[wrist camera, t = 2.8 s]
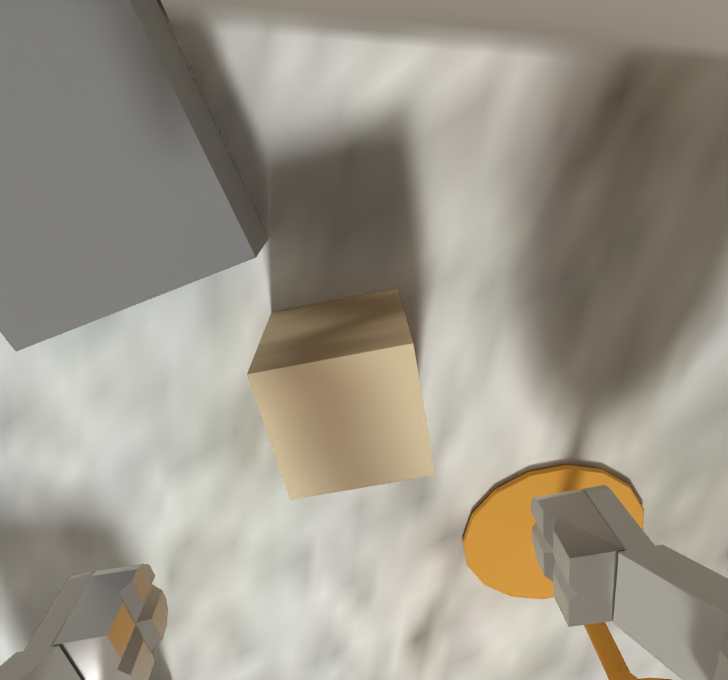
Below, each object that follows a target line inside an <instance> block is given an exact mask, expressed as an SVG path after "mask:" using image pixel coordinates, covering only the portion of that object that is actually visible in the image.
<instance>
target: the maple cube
mask: <svg viewBox="0 0 728 680" xmlns="http://www.w3.org/2000/svg"><path fill="white" fill-rule="evenodd" d="M247 376H248V378H249V381H250V384H251V387H252V390H253V393H254V396H255V399H256V402H257V405H258V407H259V410H260V413H261V416H262V419H263V422H264V425H265V428H266V431H267V434H268V436H269V439H270V442H271V445H272V448H273V451H274V454H275V457H276V460H277V463H278V465H279V468H280V471H281V474H282V477H283V480H284V483H285V486H286V489H287V492H288V494H289V497H290V500H292V499H298V498H304V497H310V496H316V495H322V494H327V493H333V492H339V491H345V490H351V489H357V488H363V487H368V486H374V485H380V484H386V483H392V482H398V481H404V480H409V479H415V478H421V477H427V476H433V475H435V469H434V463H433V457H432V451H431V445H430V439H429V433H428V427H427V421H426V415H425V409H424V403H423V397H422V391H421V385H420V379H419V373H418V368H417V362H416V356H415V350H414V344H413V340H412V336H411V333H410V329H409V326H408V322H407V319H406V315H405V312H404V308H403V304H402V301H401V297H400V294H399V290H398V288H395V289H390V290H385V291H380V292H375V293H369V294H364V295H359V296H354V297H349V298H344V299H338V300H333V301H328V302H323V303H318V304H313V305H307V306H302V307H297V308H292V309H287V310H282V311H277V312H272V313H271V315H270V318H269V320H268V323H267V325H266V328H265V330H264V333H263V335H262V338H261V340H260V343H259V345H258V348H257V351H256V353H255V356H254V358H253V361H252V363H251V366H250V368H249V371H248V373H247Z"/></svg>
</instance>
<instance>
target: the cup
mask: <svg viewBox="0 0 728 680" xmlns="http://www.w3.org/2000/svg"><path fill="white" fill-rule="evenodd" d="M601 485H606V486H607V487H609V488H610V489H611V490H612V492H613V493H614V494H615V495H616V497H617V498H618V499H619V501H620V502H621V503H622V504H623V506H624V507H625V508H626V509H627V511H628V512H629V513H630V514H631V516H632V517H633V518H634V520H635V521H636V522H637V523H638V525H639V526H640V527H641V528H642V530H643V513H644V508H643V507H642V505H641V503H640V502H639V500H638V498H637V497H636V495H635V493H634V492H633V490H632V488H631V487H630V485H629V484H628V483H626V482H624V481H622V480H620V479H619V478H617V477H615V476H613V475H612V474H610V473H608V472H606V471H604V470H603V469H598V468H590V467H582V466H573V465H561V466H556V467H551V468H546V469H540V470H535V471H530V472H527V473H525V474H523V475H521V476H519V477H517V478H515V479H513V480H511V481H510V482H508V483H506V484H504V485H502V486H500V487H498V488H496V489H494V490H493V492H492V493H491V494H490V495H489V496H488V497H487V498H486V499H485V500H484V501H483V502H482V503H481V504H480V505H479V506H478V507H477V508H476V509H475V511H474V512H473V513H472V514H471V517H470V520H469V523H468V525H467V528H466V531H465V534H464V537H463V545H464V550H465V556H466V561H467V565H468V567H469V568H470V569H471V570H472V571H473V572H474V574H475V575H476V576H477V577H478V578H479V579H480V580H481V581H482V583H483V584H484V585H486V586H489V587H491V588H493V589H495V590H498V591H500V592H502V593H505V594H507V595H509V596H513V597H524V598H535V599H546V598H552V597H554V595H553V581H551V580H550V579H548V578H547V577H545V576H544V574H543V572H542V570H541V568H540V566H539V563H538V560H537V557H536V555H535V551H534V546H533V541H532V527H533V526H534V524H535V523H536V521H535V519H534V517H533V515H532V513H531V501H532V498H534V497H540V496H545V495H551V494H556V493H562V492H568V491H573V490H580V489H584V488H590V487H595V486H601ZM584 626H585V628H586V630H587V633H588V635H589V637H590V639H591V641H592V644H593V646H594V648H595V650H596V652H597V654H598V657H599V659H600V661H601V663H602V665H603V667H604V670H605V672H606V674H607V676H608V678H609V680H671V679H659V678H643V679H638V678H636V677H635V676H634V675H632V674H631V673H630V671H629V669H628V667H627V665H626V663H625V661H624V659H623V657H622V655H621V653H620V651H619V649H618V647H617V645H616V643H615V641H614V639H613V637H612V635H611V633H610V631H609V629H608V627H607V625H606V624H605V622H600V623H592V624H585V625H584Z"/></svg>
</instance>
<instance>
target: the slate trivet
mask: <svg viewBox="0 0 728 680" xmlns="http://www.w3.org/2000/svg"><path fill="white" fill-rule="evenodd" d="M163 13H165V14H167V13H166V11H165V9H164V7H163V5H162V3H161V1H160V0H0V332H1V333H2V334H3V336H4V337H5V338H6V340H7V341H8V342H9V343H10V345H11V346H12V347H13V348H14V350H15V351H18V350H21V349H23V348H26V347H29V346H31V345H34V344H36V343H39V342H41V341H44V340H46V339H49V338H52V337H54V336H57V335H59V334H62V333H64V332H67V331H69V330H72V329H74V328H77V327H80V326H82V325H85V324H87V323H90V322H92V321H95V320H97V319H100V318H103V317H105V316H108V315H110V314H113V313H115V312H118V311H120V310H123V309H126V308H128V307H131V306H133V305H136V304H138V303H141V302H143V301H146V300H148V299H151V298H154V297H156V296H159V295H161V294H164V293H166V292H169V291H171V290H174V289H177V288H179V287H182V286H184V285H187V284H189V283H192V282H194V281H197V280H199V279H202V278H205V277H207V276H210V275H212V274H215V273H217V272H220V271H222V270H225V269H228V268H230V267H233V266H235V265H238V264H240V263H243V262H245V261H248V260H251V259H253V258H256V257H257V255H258V254H259V252H260V251H261V249H262V248H263V246H264V245H265V243H266V242H267V240H268V239H269V237H268V235H267V233H266V231H265V229H264V227H263V225H262V223H261V220H260V218H259V216H258V214H257V212H256V210H255V208H254V206H253V203H252V201H251V199H250V197H249V195H248V193H247V191H246V189H245V186H244V184H243V182H242V180H241V178H240V176H239V174H238V172H237V169H236V167H235V165H234V163H233V161H232V159H231V157H230V155H229V152H228V150H227V148H226V146H225V144H224V142H223V140H222V138H221V135H220V133H219V131H218V129H217V127H216V125H215V123H214V121H213V118H212V116H211V114H210V112H209V110H208V108H207V106H206V104H205V101H204V99H203V97H202V95H201V93H200V91H199V89H198V87H197V84H196V82H195V80H194V78H193V76H192V74H191V72H190V70H189V67H188V65H187V63H186V61H185V59H184V57H183V55H182V53H181V50H180V48H179V46H178V44H177V42H176V40H175V38H174V36H173V33H172V31H171V29H170V27H169V25H168V23H167V21H166V19H165V16H164V14H163Z"/></svg>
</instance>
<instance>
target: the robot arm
mask: <svg viewBox="0 0 728 680" xmlns="http://www.w3.org/2000/svg"><path fill="white" fill-rule="evenodd" d="M531 513H532V515H533V517H534V519H535V521H536V523H535V524H534V526H533V527H532V541H533V546H534V551H535V555H536V557H537V560H538V563H539V566H540V568H541V570H542V572H543V574H544V576H545V577H547V578H548V579H550V580H551V581H553V595H554V598H555V600H556V602H557V604H558V606H559V608H560V610H561V612H562V614H563V616H564V618H565V620H566V622H567V624H568V626H569V627H570V626H578V625H585V624H592V623H600V622H607V621H613V623H614V624H615V625H616V626H617V627H619V628H620V629H621V630H622V631H623V632H625V633H626V634H627V635H628V636H630V637H631V638H632V639H633V640H634V641H636V642H637V643H638V644H639V645H641V646H642V647H643V648H644V649H645V650H647V651H648V652H649V653H650V654H652V655H653V656H654V657H655V658H656V659H658V660H659V661H660V662H661V663H663V664H664V665H665V666H666V667H667V668H669V669H670V670H671V671H672V672H674V673H675V674H676V675H677V676H678V677H680V678H681V679H682V680H728V578H726V577H724V576H722V575H720V574H718V573H716V572H714V571H712V570H710V569H708V568H707V567H705V566H703V565H701V564H699V563H697V562H695V561H693V560H691V559H689V558H687V557H685V556H684V555H682V554H680V553H678V552H676V551H674V550H672V549H670V548H668V547H666V546H664V545H657V546H655V545H654V544H653V542H652V541H651V540H650V539H649V537H648V536H647V535H646V534H645V532H644V531H643V530H642V528H641V527H640V526H639V525H638V523H637V522H636V521H635V520H634V518H633V517H632V516H631V514H630V513H629V512H628V511H627V509H626V508H625V507H624V506H623V504H622V503H621V502H620V501H619V499H618V498H617V497H616V495H615V494H614V493H613V492H612V490H611V489H610V488H609V487H607V486H606V485H601V486H595V487H590V488H584V489H580V490H573V491H568V492H562V493H556V494H551V495H545V496H540V497H534V498H532V501H531ZM154 577H155V574H154V573H153V571H152V569H151V567H150V565H149V564H139V565H132V566H125V567H118V568H111V569H104V570H98V571H93V572H86V573H79V574H74V575H73V576H71V577H70V578H69V579H68V580H67V581H66V582H65V584H64V586H63V587H62V589H61V590H60V592H59V594H58V595H57V597H56V599H55V600H54V602H53V604H52V605H51V607H50V609H49V610H48V612H47V614H46V615H45V617H44V619H43V620H42V622H41V624H40V625H39V627H38V629H37V630H36V632H35V634H34V635H33V637H32V639H31V640H30V642H29V644H28V645H27V647H26V649H25V650H24V651H22V652H17V653H15V654H14V655H13V656H12V657H11V658H9V659H8V660H7V661H6V662H5V663H4V664H2V665H1V666H0V680H149V677H150V674H151V671H152V668H153V666H154V663H155V661H154V658H153V656H152V653H151V651H152V650H153V649H154V648H155V647H156V646H157V645H158V644H159V643H160V641H161V640H162V639H163V636H164V633H165V629H166V626H167V616H168V607H167V601H166V598H165V595H164V593H163V591H162V590H161V589H159V588H157V587H156V586H154V585H152V582H153V579H154Z"/></svg>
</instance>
